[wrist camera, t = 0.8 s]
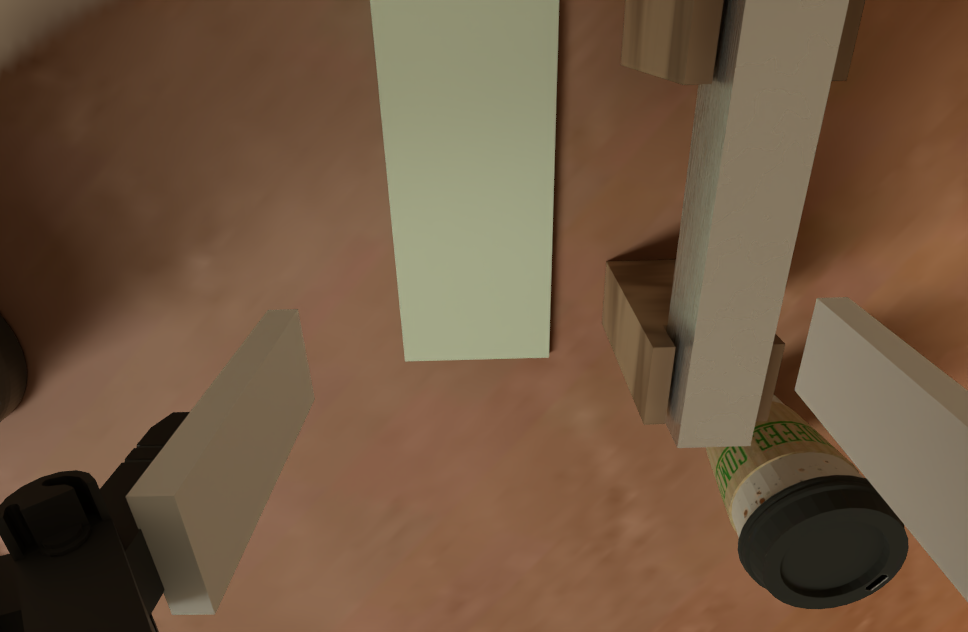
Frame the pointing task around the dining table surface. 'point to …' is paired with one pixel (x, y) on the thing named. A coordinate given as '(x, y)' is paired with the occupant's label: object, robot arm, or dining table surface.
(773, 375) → the post
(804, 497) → the coffee cup
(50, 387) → the dining table surface
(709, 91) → the rail
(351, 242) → the dining table surface
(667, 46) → the post
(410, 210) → the mat
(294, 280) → the dining table surface
